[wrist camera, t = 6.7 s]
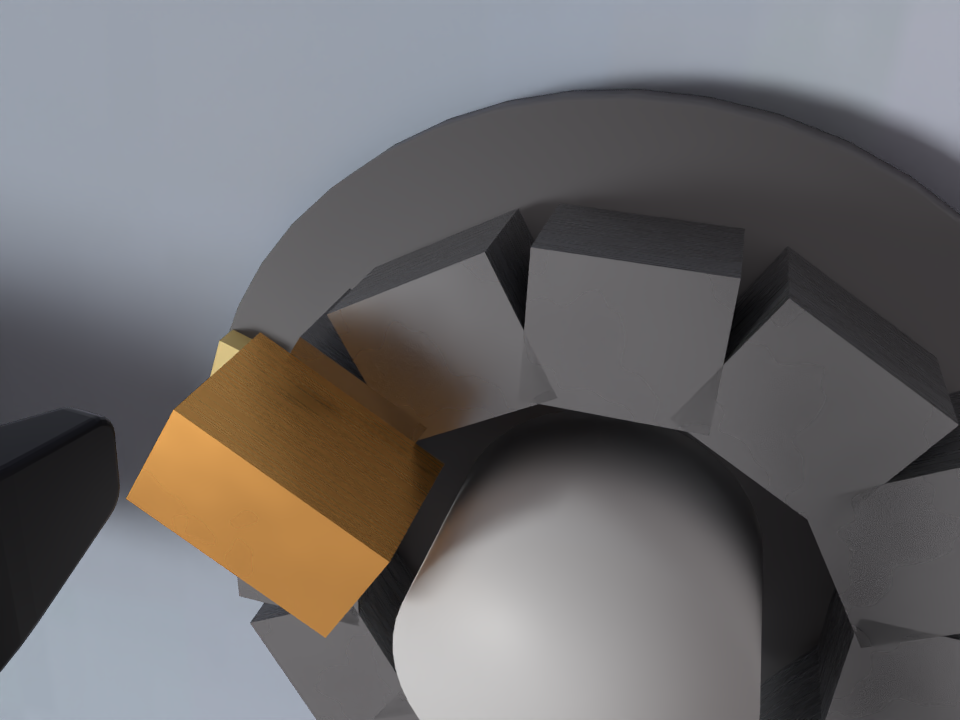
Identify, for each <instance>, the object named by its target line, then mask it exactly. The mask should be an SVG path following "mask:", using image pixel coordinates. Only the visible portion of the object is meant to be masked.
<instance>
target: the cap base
mask: <svg viewBox="0 0 960 720" xmlns="http://www.w3.org/2000/svg"><path fill="white" fill-rule="evenodd" d="M559 203H562V204H569V205H576V206H584V207H591V208H598V209H606V210H613V211H620V212H627V213H635V214H642V215H649V216H656V217H664V218H671V219H678V220H686V221H693V222H700V223H707V224H715V225H722V226H729V227H737V228H744V229H745V235H744V247H743V258H742V270H741V280H740V285H739V290H738V295H737V299H738V298H739V297H740V296H741V295H742V294H743V292H744V291H745V290H746V289H747V288H748V287H749V286H750V285H751V284H752V283H753V282H754V281H755V280H756V279H757V278H758V277H759V276H760V275H761V273H762V272H763V271H764V270H765V269H766V268H767V267H768V266H769V265H770V264H771V263H772V262H773V261H774V260H775V259H776V258H777V257H778V256H779V254H780V253H781V252H782V251H783V250H784V249H785V248H786V247H787V246H788V247H790V248H791V249H792V250H794V251H795V252H796V253H798V254H799V255H800V256H802V257H803V258H804V259H806V260H807V261H808V262H810V263H811V264H812V265H814V266H815V267H816V268H818V269H819V270H820V271H822V272H823V273H824V274H826V275H827V276H828V277H830V278H831V279H832V280H834V281H835V282H837V283H838V284H839V285H841V286H842V287H843V288H845V289H846V290H847V291H849V292H850V293H851V294H853V295H854V296H855V297H857V298H858V299H859V300H861V301H862V302H863V303H865V304H866V305H867V306H869V307H870V308H871V309H873V310H874V311H875V312H877V313H878V314H879V315H881V316H882V317H883V318H885V319H886V320H887V321H889V322H890V323H891V324H893V325H894V326H895V327H897V328H898V329H899V330H901V331H902V332H903V333H905V334H906V335H907V336H909V337H910V338H911V339H913V340H914V341H915V342H917V343H918V344H919V345H921V346H922V347H923V348H925V349H926V350H927V351H929V352H930V353H931V354H933V355H934V356H935V357H937V360H938V363H939V366H940V369H941V372H942V375H943V379H944V382H945V385H946V388H947V391H948V394H949V393H953V392H957V391H960V214H959V213H957V212H956V211H955V210H954V209H952V208H951V207H950V206H948V205H947V204H946V203H944V202H943V201H942V200H940V199H939V198H938V197H937V196H935V195H934V194H933V193H931V192H930V191H929V190H927V189H926V188H925V187H924V186H922V185H921V184H920V183H918V182H917V181H916V180H914V179H913V178H912V177H910V176H909V175H907V174H905V173H903V172H902V171H900V170H898V169H896V168H894V167H893V166H891V165H889V164H887V163H886V162H884V161H882V160H880V159H878V158H877V157H875V156H873V155H871V154H870V153H868V152H866V151H864V150H862V149H861V148H859V147H857V146H855V145H854V144H852V143H850V142H848V141H846V140H843V139H841V138H838V137H836V136H833V135H831V134H828V133H826V132H823V131H821V130H818V129H816V128H813V127H811V126H808V125H805V124H803V123H800V122H798V121H795V120H793V119H790V118H788V117H785V116H783V115H780V114H776V113H772V112H768V111H764V110H760V109H756V108H752V107H748V106H744V105H740V104H736V103H732V102H728V101H724V100H720V99H716V98H712V97H704V96H695V95H686V94H677V93H668V92H659V91H650V90H641V89H633V90H589V91H568V92H561V93H555V94H549V95H543V96H536V97H530V98H524V99H518V100H511V101H506V102H503V103H500V104H496V105H493V106H490V107H487V108H483V109H480V110H477V111H473V112H470V113H467V114H464V115H460V116H457V117H454V118H451V119H448V120H446V121H443V122H441V123H439V124H437V125H435V126H433V127H431V128H429V129H426V130H424V131H422V132H420V133H418V134H416V135H414V136H412V137H410V138H407V139H405V140H403V141H401V142H399V143H397V144H395V145H393V146H392V147H391V148H389V149H388V150H386V151H385V152H383V153H382V154H380V155H379V156H377V157H376V158H374V159H373V160H371V161H370V162H368V163H367V164H365V165H364V166H362V167H361V168H359V169H358V170H356V171H355V172H353V173H352V174H350V175H349V176H348V177H346V178H345V179H343V180H342V181H340V182H339V183H338V184H336V185H335V186H333V187H332V188H331V189H330V190H329V191H327V192H326V193H325V194H324V195H323V196H322V197H321V198H320V199H319V200H318V201H317V202H316V203H315V204H313V205H312V206H311V207H310V208H309V209H308V210H307V211H306V212H305V213H304V214H303V215H302V216H300V217H299V218H298V219H297V220H296V221H295V222H294V223H293V224H292V225H291V226H290V228H289V229H288V230H287V231H286V233H285V234H284V235H283V237H282V238H281V239H280V240H279V242H278V243H277V244H276V246H275V247H274V248H273V249H272V251H271V252H270V253H269V255H268V256H267V257H266V258H265V260H264V261H263V262H262V264H261V265H260V267H259V269H258V271H257V273H256V274H255V276H254V278H253V280H252V282H251V284H250V285H249V287H248V289H247V291H246V293H245V295H244V296H243V298H242V300H241V302H240V304H239V306H238V309H237V312H236V314H235V317H234V320H233V323H232V326H231V329H230V331H229V333H228V334H227V335H226V336H224V337H223V338H222V339H221V340H220V341H219V345H218V348H217V352H216V356H215V360H214V364H213V368H212V371H211V375H210V377H211V376H212V375H213V374H214V373H215V372H216V371H217V370H219V369H220V368H221V367H222V366H223V365H224V364H225V363H226V362H228V361H229V360H230V359H231V358H232V357H233V356H234V355H235V354H236V353H238V352H239V351H240V350H241V349H242V348H243V347H244V346H245V345H247V344H248V343H249V342H250V341H251V340H252V339H253V338H254V337H256V336H257V335H258V334H259V333H260V332H261V333H262V334H264V335H265V336H266V337H268V338H269V339H271V340H272V341H273V342H275V343H276V344H278V345H279V346H280V347H282V348H283V349H284V350H286V351H287V352H289V353H290V352H291V351H292V349H293V348H294V346H295V344H296V343H297V341H298V339H299V338H300V336H301V335H302V334H303V333H304V332H305V331H307V330H308V329H309V328H310V327H311V326H312V325H313V324H314V323H315V322H316V321H317V320H318V319H319V318H320V317H321V316H322V315H323V314H324V313H325V312H326V311H327V310H328V309H329V308H330V307H331V306H332V305H333V304H334V303H335V302H336V301H337V300H338V299H339V298H340V297H341V296H342V295H343V294H344V293H345V292H346V291H347V290H348V289H351V290H352V289H353V288H354V287H355V286H356V285H357V284H358V283H359V282H360V281H361V280H362V279H363V278H364V277H366V276H367V275H368V274H369V273H370V272H371V271H372V270H373V269H374V268H375V267H377V266H379V265H382V264H384V263H387V262H389V261H391V260H394V259H396V258H399V257H401V256H404V255H406V254H408V253H411V252H413V251H416V250H418V249H421V248H423V247H425V246H428V245H430V244H433V243H435V242H437V241H440V240H442V239H445V238H447V237H450V236H452V235H454V234H457V233H459V232H462V231H464V230H467V229H469V228H471V227H474V226H476V225H479V224H481V223H484V222H486V221H488V220H491V219H493V218H496V217H498V216H501V215H503V214H505V213H508V212H510V211H513V210H515V209H518V208H519V210H520V213H521V215H522V217H523V219H524V221H525V223H526V225H527V227H528V229H529V231H530V234H531V236H532V238H533V240H534V241H535V240H536V238H537V237H538V235H539V234H540V232H541V231H542V229H543V228H544V226H545V225H546V223H547V222H548V220H549V218H550V217H551V215H552V214H553V212H554V211H555V209H556V208H557V206H558V205H559ZM416 444H417V445H418V446H420V447H421V448H423V449H424V450H425V451H427V452H428V453H430V454H431V455H432V456H434V457H435V458H437V459H438V460H439V461H441V462H442V463H444V466H443V468H442V469H441V471H440V473H439V475H438V477H437V478H436V480H435V482H434V484H433V485H432V487H431V489H430V491H429V493H428V494H427V496H426V498H425V500H424V502H423V503H422V505H421V507H420V509H419V511H418V512H417V514H416V516H415V518H414V519H413V521H412V523H411V525H410V527H409V528H408V530H407V532H406V534H405V536H404V537H403V539H402V541H401V543H400V544H399V546H398V548H397V549H398V551H399V553H400V554H401V556H402V558H403V559H404V561H405V563H406V564H407V566H408V568H409V569H410V571H411V573H412V574H413V576H414V578H415V579H414V581H413V583H412V585H411V587H410V589H409V591H408V593H407V595H406V597H405V599H404V600H403V602H402V605H401V607H400V610H399V612H398V615H397V618H396V621H395V627H394V632H393V656H394V663H395V669H396V672H397V675H398V679H399V682H400V685H401V687H402V689H403V692H404V694H405V696H406V698H407V700H408V702H409V704H410V705H411V707H412V709H413V710H414V712H415V713H416V715H417V717H418V718H419V720H759V717H760V686H761V684H762V683H763V682H765V681H766V680H768V679H769V678H770V677H772V676H773V675H775V674H776V673H778V672H779V671H780V670H782V669H783V668H785V667H786V666H787V665H789V664H790V663H792V662H793V661H794V660H796V659H797V658H799V657H800V656H802V655H803V654H804V653H806V652H807V651H809V650H810V649H811V648H813V647H814V646H816V645H817V644H818V641H819V637H820V634H821V631H822V628H823V625H824V621H825V618H826V615H827V612H828V608H829V605H830V602H831V599H832V596H833V592H834V589H835V585H834V582H833V580H832V577H831V575H830V573H829V570H828V568H827V565H826V563H825V561H824V558H823V556H822V553H821V551H820V549H819V546H818V544H817V541H816V539H815V537H814V534H813V532H812V529H811V527H810V525H809V522H808V520H807V519H806V518H805V517H803V516H802V515H800V514H799V513H798V512H796V511H795V510H794V509H792V508H791V507H790V506H788V505H787V504H785V503H784V502H783V501H781V500H780V499H779V498H777V497H776V496H774V495H773V494H772V493H770V492H769V491H768V490H766V489H765V488H764V487H762V486H761V485H759V484H758V483H757V482H755V481H754V480H753V479H751V478H750V477H748V476H747V475H746V474H744V473H743V472H742V471H740V470H739V469H738V468H736V467H735V466H733V465H732V464H731V463H729V462H728V461H727V460H725V459H724V458H722V457H721V456H720V455H718V454H717V453H716V452H714V451H713V450H712V449H710V448H709V447H707V446H706V445H705V444H703V443H702V442H701V441H699V440H698V439H697V438H695V437H694V436H692V435H691V434H690V433H688V432H686V431H681V430H676V429H670V428H665V427H660V426H654V425H649V424H644V423H638V422H633V421H628V420H622V419H617V418H612V417H606V416H601V415H596V414H590V413H585V412H580V411H574V410H569V409H564V408H558V407H553V406H548V405H542V404H537V405H533V406H530V407H527V408H523V409H520V410H517V411H514V412H510V413H507V414H504V415H500V416H497V417H494V418H490V419H487V420H484V421H480V422H477V423H474V424H471V425H467V426H464V427H461V428H457V429H454V430H451V431H447V432H444V433H441V434H438V435H434V436H431V437H428V438H424V439H421V440H418V441H417V442H416Z"/></svg>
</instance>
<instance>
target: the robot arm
mask: <svg viewBox="0 0 960 720" xmlns="http://www.w3.org/2000/svg"><path fill="white" fill-rule="evenodd" d="M119 489H120V484H119V473H118V463H117V452H116V442H115V432H114V428H113V426H112V424H111V422H110V421H109V420H108V419H107V418H105V417H104V416H101V415H97V414H94V413H90V412H87V411H84V410H80V409H77V408H70V407H69V408H61V409H57V410H54V411H50V412H47V413H43V414H40V415H36V416H33V417H29V418H26V419H22V420H18V421H15V422H11V423H8V424H4V425H1V426H0V672H1V671H2V670H3V668H4V667H5V666H6V665H7V663H8V662H9V661H10V659H11V658H12V657H13V656H14V654H15V653H16V652H17V651H18V649H19V648H20V647H21V646H22V644H23V643H24V642H25V640H26V639H27V637H28V636H29V635H30V633H31V632H32V630H33V629H34V628H35V626H36V625H37V624H38V622H39V621H40V619H41V618H42V616H43V615H44V613H45V612H46V610H47V609H48V607H49V606H50V604H51V603H52V601H53V600H54V598H55V597H56V595H57V594H58V592H59V591H60V590H61V588H62V587H63V585H64V584H65V582H66V581H67V579H68V578H69V576H70V575H71V573H72V572H73V570H74V569H75V567H76V566H77V564H78V563H79V561H80V560H81V558H82V557H83V555H84V554H85V552H86V551H87V550H88V548H89V547H90V545H91V544H92V542H93V541H94V539H95V538H96V536H97V535H98V533H99V532H100V530H101V529H102V527H103V526H104V524H105V523H106V521H107V520H108V518H109V517H110V515H111V514H112V512H113V510H114V508H115V506H116V503H117V500H118V497H119Z"/></svg>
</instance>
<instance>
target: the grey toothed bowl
mask: <svg viewBox="0 0 960 720" xmlns="http://www.w3.org/2000/svg"><path fill="white" fill-rule="evenodd" d="M744 235H745V229H744V228H737V227H729V226H722V225H715V224H707V223H700V222H693V221H686V220H678V219H671V218H664V217H656V216H649V215H642V214H635V213H627V212H620V211H613V210H606V209H598V208H591V207H584V206H576V205H569V204H562V203H559V205H558V206H557V208H556V209H555V211H554V212H553V214H552V215H551V217H550V218H549V220H548V222H547V223H546V225H545V226H544V228H543V229H542V231H541V232H540V234H539V235H538V237H537V238H536V240H535V241H534V240H533V238H532V236H531V234H530V231H529V229H528V227H527V225H526V223H525V221H524V219H523V217H522V215H521V213H520V210H519V208H518V209H515V210H513V211H510V212H508V213H505V214H503V215H501V216H498V217H496V218H493V219H491V220H488V221H486V222H484V223H481V224H479V225H476V226H474V227H471V228H469V229H467V230H464V231H462V232H459V233H457V234H454V235H452V236H450V237H447V238H445V239H442V240H440V241H437V242H435V243H433V244H430V245H428V246H425V247H423V248H421V249H418V250H416V251H413V252H411V253H408V254H406V255H404V256H401V257H399V258H396V259H394V260H391V261H389V262H387V263H384V264H382V265H379V266H377V267H375V268H374V269H373V270H372V271H371V272H370V273H369V274H368V275H367V276H366V277H364V278H363V279H362V280H361V281H360V282H359V283H358V284H357V285H356V286H355V287H354V288H353V289H352V290H351V289H348V290H347V291H346V292H345V293H344V294H343V295H342V296H341V297H340V298H339V299H338V300H337V301H336V302H335V303H334V304H333V305H332V306H331V307H330V308H329V309H328V310H327V311H326V312H325V313H324V314H323V315H322V316H321V317H320V318H319V319H318V320H317V321H316V322H315V323H314V324H313V325H312V326H311V327H310V328H309V329H308V330H307V331H305V332H304V333H303V334H302V335H301V336H300V338H299V339H298V341H297V343H296V344H295V346H294V348H293V349H292V351H291V352H290V353H289V352H287V351H286V350H284V349H283V348H282V347H280V346H279V345H278V344H276V343H275V342H273V341H272V340H271V339H269V338H268V337H266V336H265V335H264V334H262V333H261V332H260V333H259V334H258V335H257V336H256V337H254V338H253V339H252V340H251V341H250V342H249V343H248V344H247V345H245V346H244V347H243V348H242V349H241V350H240V351H239V352H238V353H236V354H235V355H234V356H233V357H232V358H231V359H230V360H229V361H228V362H226V363H225V364H224V365H223V366H222V367H221V368H220V369H219V370H217V371H216V372H215V373H214V374H213V375H212V376H211V377H210V378H208V379H207V380H206V381H205V382H204V383H203V384H202V385H201V386H200V387H198V388H197V389H196V390H195V391H194V392H193V393H192V394H191V395H189V396H188V397H187V398H186V399H185V400H184V401H183V402H182V403H180V404H179V405H178V406H177V407H176V408H175V409H174V410H173V412H172V414H171V415H170V417H169V419H168V421H167V423H166V425H165V427H164V429H163V430H162V432H161V434H160V436H159V438H158V440H157V442H156V444H155V445H154V447H153V449H152V451H151V453H150V455H149V457H148V458H147V460H146V462H145V464H144V466H143V468H142V470H141V472H140V473H139V475H138V477H137V479H136V481H135V483H134V485H133V487H132V488H131V490H130V492H129V494H128V496H127V498H126V499H127V500H129V501H130V502H131V503H133V504H134V505H136V506H137V507H139V508H140V509H141V510H143V511H144V512H146V513H147V514H149V515H150V516H151V517H153V518H154V519H156V520H157V521H159V522H160V523H161V524H163V525H164V526H166V527H167V528H169V529H170V530H172V531H173V532H174V533H176V534H177V535H179V536H180V537H182V538H183V539H184V540H186V541H187V542H189V543H190V544H192V545H193V546H194V547H196V548H197V549H199V550H200V551H202V552H203V553H204V554H206V555H207V556H209V557H210V558H212V559H213V560H214V561H216V562H217V563H219V564H220V565H222V566H223V567H224V568H226V569H227V570H229V571H230V572H232V573H233V574H234V575H236V576H237V578H238V587H239V596H241V597H245V598H249V599H253V600H257V601H261V602H264V604H263V605H262V607H261V608H260V610H259V611H258V612H257V614H256V615H255V617H254V618H253V620H252V621H251V622H250V623H251V625H252V626H253V628H254V629H255V631H256V632H257V634H258V635H259V637H260V638H261V639H262V641H263V642H264V644H265V645H266V647H267V648H268V650H269V651H270V653H271V654H272V655H273V657H274V658H275V660H276V661H277V663H278V664H279V666H280V667H281V669H282V670H283V671H284V673H285V674H286V676H287V677H288V679H289V680H290V682H291V683H292V685H293V686H294V688H295V689H296V690H297V692H298V693H299V695H300V696H301V698H302V699H303V701H304V702H305V704H306V705H307V706H308V708H309V709H310V711H311V712H312V714H313V715H314V717H315V718H316V720H419V718H418V717H417V715H416V713H415V712H414V710H413V709H412V707H411V705H410V704H409V702H408V700H407V698H406V696H405V694H404V692H403V689H402V687H401V685H400V682H399V679H398V675H397V672H396V669H395V663H394V656H393V632H394V627H395V621H396V618H397V615H398V612H399V610H400V607H401V605H402V602H403V600H404V599H405V597H406V595H407V593H408V591H409V589H410V587H411V585H412V583H413V581H414V579H415V578H414V576H413V574H412V573H411V571H410V569H409V568H408V566H407V564H406V563H405V561H404V559H403V558H402V556H401V554H400V553H399V551H398V549H397V548H398V546H399V544H400V543H401V541H402V539H403V537H404V536H405V534H406V532H407V530H408V528H409V527H410V525H411V523H412V521H413V519H414V518H415V516H416V514H417V512H418V511H419V509H420V507H421V505H422V503H423V502H424V500H425V498H426V496H427V494H428V493H429V491H430V489H431V487H432V485H433V484H434V482H435V480H436V478H437V477H438V475H439V473H440V471H441V469H442V468H443V466H444V463H442V462H441V461H439V460H438V459H437V458H435V457H434V456H432V455H431V454H430V453H428V452H427V451H425V450H424V449H423V448H421V447H420V446H418V445H417V444H416V442H417V441H418V440H421V439H424V438H428V437H431V436H434V435H438V434H441V433H444V432H447V431H451V430H454V429H457V428H461V427H464V426H467V425H471V424H474V423H477V422H480V421H484V420H487V419H490V418H494V417H497V416H500V415H504V414H507V413H510V412H514V411H517V410H520V409H523V408H527V407H530V406H533V405H537V404H542V405H548V406H553V407H558V408H564V409H569V410H574V411H580V412H585V413H590V414H596V415H601V416H606V417H612V418H617V419H622V420H628V421H633V422H638V423H644V424H649V425H654V426H660V427H665V428H670V429H676V430H681V431H686V432H688V433H690V434H691V435H692V436H694V437H695V438H697V439H698V440H699V441H701V442H702V443H703V444H705V445H706V446H707V447H709V448H710V449H712V450H713V451H714V452H716V453H717V454H718V455H720V456H721V457H722V458H724V459H725V460H727V461H728V462H729V463H731V464H732V465H733V466H735V467H736V468H738V469H739V470H740V471H742V472H743V473H744V474H746V475H747V476H748V477H750V478H751V479H753V480H754V481H755V482H757V483H758V484H759V485H761V486H762V487H764V488H765V489H766V490H768V491H769V492H770V493H772V494H773V495H774V496H776V497H777V498H779V499H780V500H781V501H783V502H784V503H785V504H787V505H788V506H790V507H791V508H792V509H794V510H795V511H796V512H798V513H799V514H800V515H802V516H803V517H805V518H806V519H807V520H808V522H809V525H810V527H811V529H812V532H813V534H814V537H815V539H816V541H817V544H818V546H819V549H820V551H821V553H822V556H823V558H824V561H825V563H826V565H827V568H828V570H829V573H830V575H831V577H832V580H833V582H834V585H835V589H834V592H833V596H832V599H831V602H830V605H829V608H828V612H827V615H826V618H825V621H824V625H823V628H822V631H821V634H820V637H819V641H818V644H817V645H816V646H814V647H813V648H811V649H810V650H809V651H807V652H806V653H804V654H803V655H802V656H800V657H799V658H797V659H796V660H794V661H793V662H792V663H790V664H789V665H787V666H786V667H785V668H783V669H782V670H780V671H779V672H778V673H776V674H775V675H773V676H772V677H770V678H769V679H768V680H766V681H765V682H763V683H762V684H761V686H760V717H759V720H960V391H957V392H953V393H949V394H948V391H947V388H946V385H945V382H944V379H943V375H942V372H941V369H940V366H939V363H938V360H937V357H935V356H934V355H933V354H931V353H930V352H929V351H927V350H926V349H925V348H923V347H922V346H921V345H919V344H918V343H917V342H915V341H914V340H913V339H911V338H910V337H909V336H907V335H906V334H905V333H903V332H902V331H901V330H899V329H898V328H897V327H895V326H894V325H893V324H891V323H890V322H889V321H887V320H886V319H885V318H883V317H882V316H881V315H879V314H878V313H877V312H875V311H874V310H873V309H871V308H870V307H869V306H867V305H866V304H865V303H863V302H862V301H861V300H859V299H858V298H857V297H855V296H854V295H853V294H851V293H850V292H849V291H847V290H846V289H845V288H843V287H842V286H841V285H839V284H838V283H837V282H835V281H834V280H832V279H831V278H830V277H828V276H827V275H826V274H824V273H823V272H822V271H820V270H819V269H818V268H816V267H815V266H814V265H812V264H811V263H810V262H808V261H807V260H806V259H804V258H803V257H802V256H800V255H799V254H798V253H796V252H795V251H794V250H792V249H791V248H790V247H788V246H787V247H786V248H785V249H784V250H783V251H782V252H781V253H780V254H779V256H778V257H777V258H776V259H775V260H774V261H773V262H772V263H771V264H770V265H769V266H768V267H767V268H766V269H765V270H764V271H763V272H762V273H761V275H760V276H759V277H758V278H757V279H756V280H755V281H754V282H753V283H752V284H751V285H750V286H749V287H748V288H747V289H746V290H745V291H744V292H743V294H742V295H741V296H740V297H739V298H738V299H737V295H738V290H739V285H740V280H741V270H742V258H743V247H744Z"/></svg>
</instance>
